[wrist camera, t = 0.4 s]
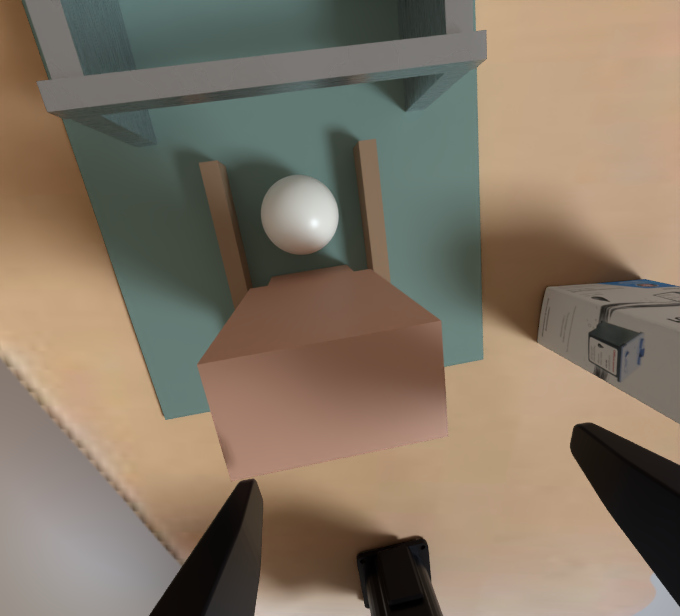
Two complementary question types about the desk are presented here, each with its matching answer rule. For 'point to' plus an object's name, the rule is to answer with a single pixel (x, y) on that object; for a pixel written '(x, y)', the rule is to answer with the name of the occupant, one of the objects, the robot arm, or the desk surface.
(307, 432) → the salmon orange block
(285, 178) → the ball
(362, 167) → the plate
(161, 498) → the desk surface
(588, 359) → the ink box
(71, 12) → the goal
